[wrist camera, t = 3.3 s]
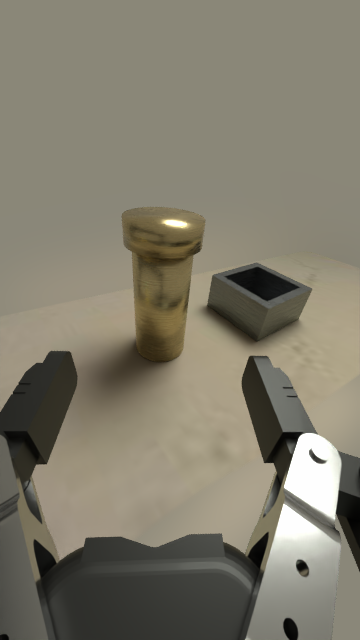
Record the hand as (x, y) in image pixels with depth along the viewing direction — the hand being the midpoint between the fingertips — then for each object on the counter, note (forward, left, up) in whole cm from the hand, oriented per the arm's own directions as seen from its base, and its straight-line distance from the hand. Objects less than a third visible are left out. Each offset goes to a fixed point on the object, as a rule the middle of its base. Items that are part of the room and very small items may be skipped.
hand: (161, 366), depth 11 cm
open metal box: (+20, +9, -9) cm, 24 cm away
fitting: (+6, +10, -9) cm, 15 cm away
